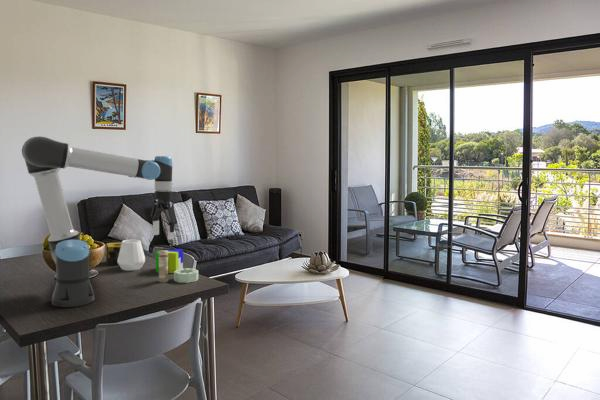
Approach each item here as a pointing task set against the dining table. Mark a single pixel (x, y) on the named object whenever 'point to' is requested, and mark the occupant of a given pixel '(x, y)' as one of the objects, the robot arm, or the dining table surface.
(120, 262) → the cup
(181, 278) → the bead
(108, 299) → the dining table surface
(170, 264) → the puzzle toy
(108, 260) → the candle
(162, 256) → the striped rounded cylinder
